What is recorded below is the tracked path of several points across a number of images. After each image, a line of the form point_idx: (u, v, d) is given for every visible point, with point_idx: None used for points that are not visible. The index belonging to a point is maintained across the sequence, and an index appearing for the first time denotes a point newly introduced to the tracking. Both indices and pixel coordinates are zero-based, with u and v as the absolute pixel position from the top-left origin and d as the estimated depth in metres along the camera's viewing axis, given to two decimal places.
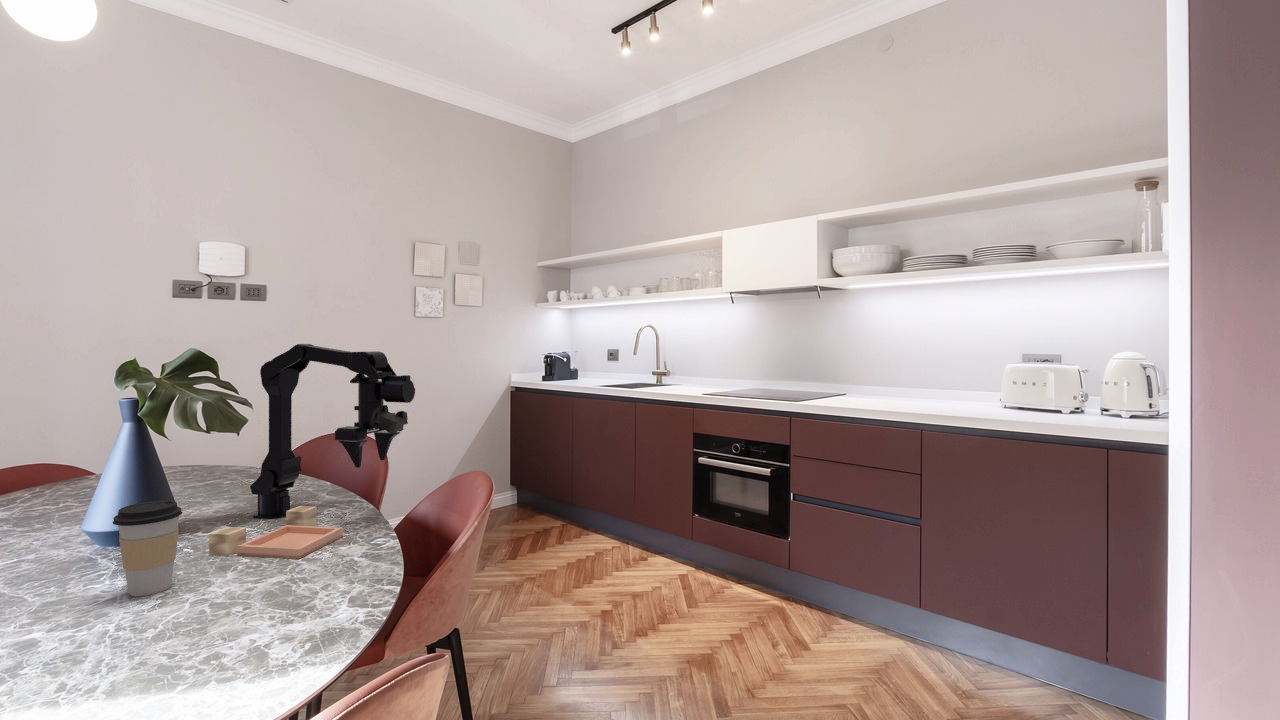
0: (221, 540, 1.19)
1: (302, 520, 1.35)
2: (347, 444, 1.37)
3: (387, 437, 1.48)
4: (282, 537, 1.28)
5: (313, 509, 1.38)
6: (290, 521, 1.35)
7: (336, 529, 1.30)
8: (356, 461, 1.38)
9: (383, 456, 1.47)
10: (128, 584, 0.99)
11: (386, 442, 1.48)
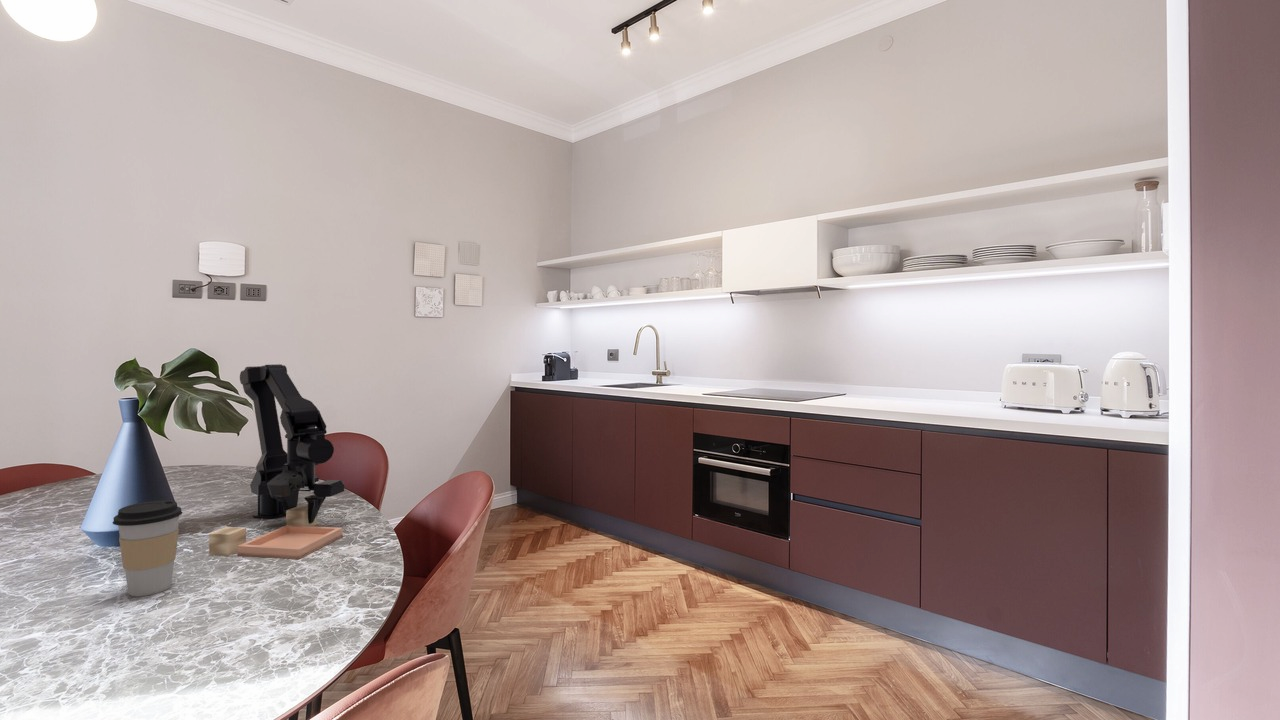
0: (221, 540, 1.19)
1: (302, 520, 1.35)
2: None
3: None
4: (282, 537, 1.28)
5: None
6: (290, 520, 1.35)
7: (336, 529, 1.30)
8: None
9: None
10: (128, 584, 0.99)
11: None
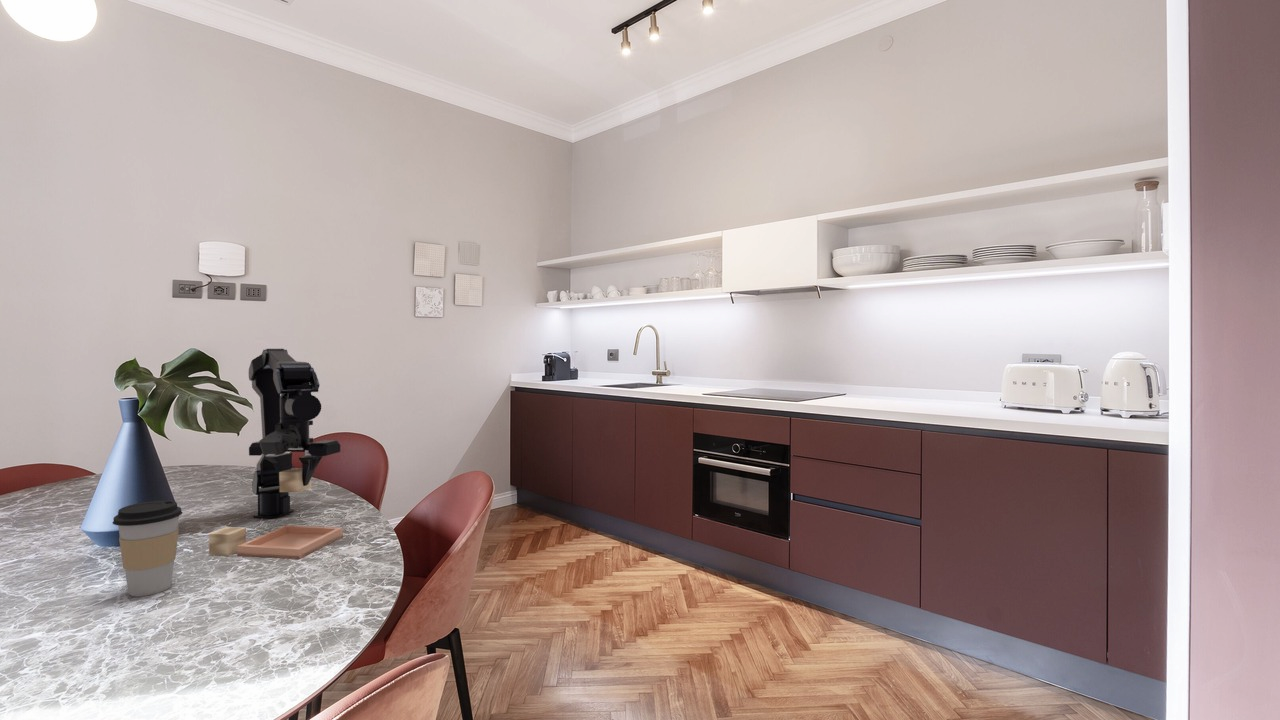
0: (221, 540, 1.19)
1: (296, 481, 1.29)
2: None
3: None
4: (282, 537, 1.28)
5: None
6: (283, 482, 1.29)
7: (336, 529, 1.30)
8: None
9: None
10: (128, 584, 0.99)
11: None
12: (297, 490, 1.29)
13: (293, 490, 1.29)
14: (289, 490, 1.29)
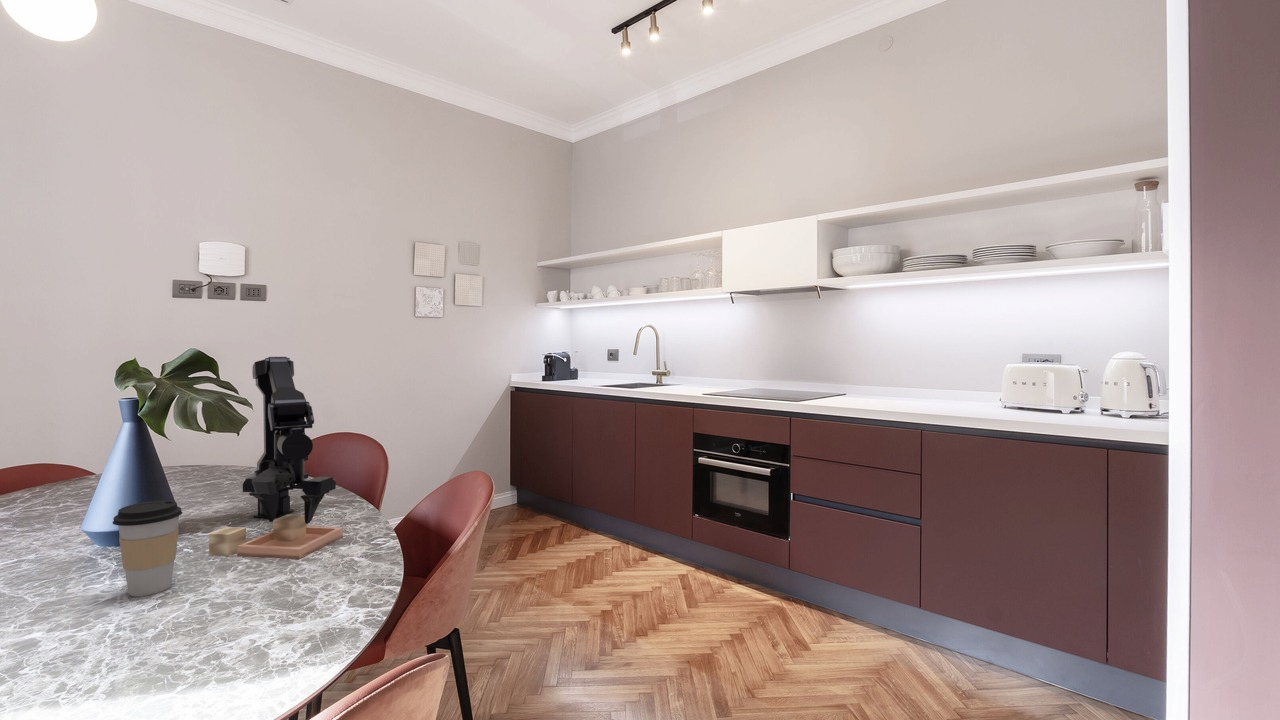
0: (221, 540, 1.19)
1: (290, 530, 1.26)
2: None
3: None
4: None
5: (302, 518, 1.29)
6: (277, 531, 1.26)
7: (336, 529, 1.30)
8: None
9: None
10: (128, 584, 0.99)
11: None
12: (291, 539, 1.26)
13: (287, 539, 1.26)
14: (283, 539, 1.26)
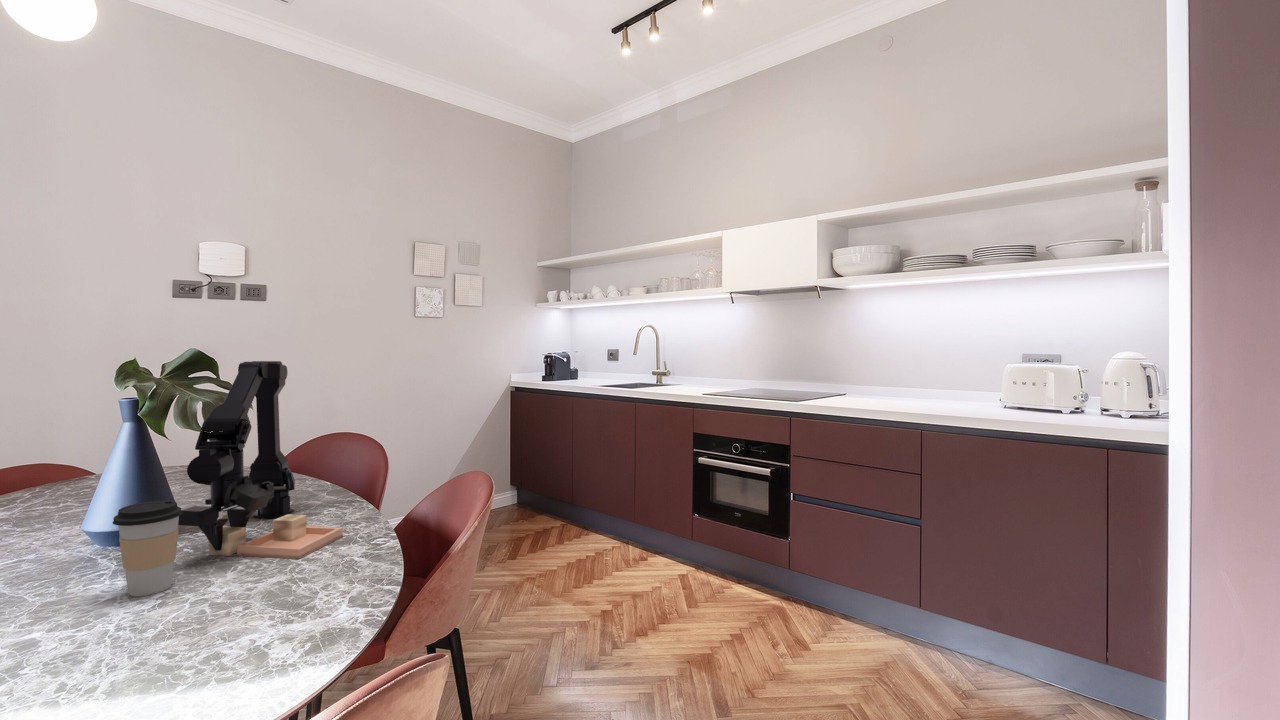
0: None
1: (290, 530, 1.26)
2: None
3: (243, 515, 1.24)
4: None
5: (302, 518, 1.29)
6: (277, 531, 1.26)
7: (336, 529, 1.30)
8: (215, 543, 1.18)
9: None
10: (128, 584, 0.99)
11: (241, 521, 1.24)
12: (291, 539, 1.26)
13: (287, 539, 1.26)
14: (283, 539, 1.26)
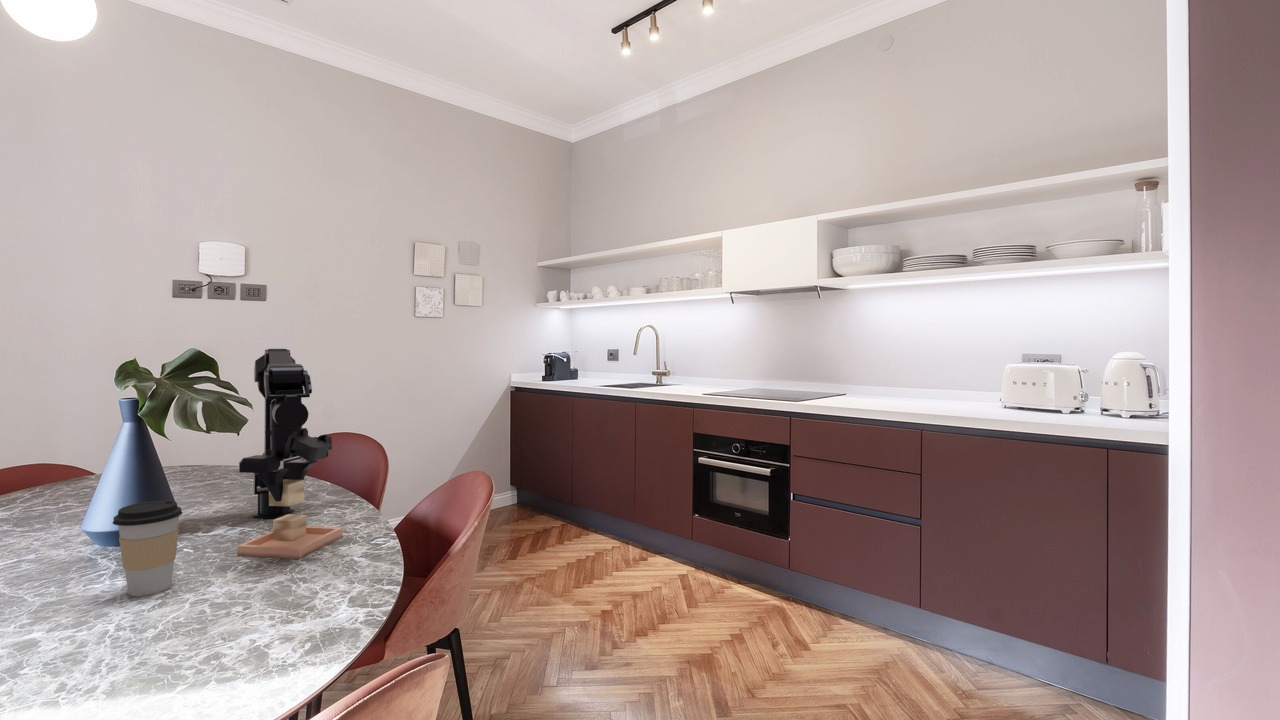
0: None
1: (290, 530, 1.26)
2: (264, 474, 1.17)
3: (301, 468, 1.23)
4: None
5: (302, 518, 1.29)
6: (277, 531, 1.26)
7: (336, 529, 1.30)
8: (276, 494, 1.18)
9: None
10: (128, 584, 0.99)
11: (300, 474, 1.23)
12: (291, 539, 1.26)
13: (287, 539, 1.26)
14: (283, 539, 1.26)
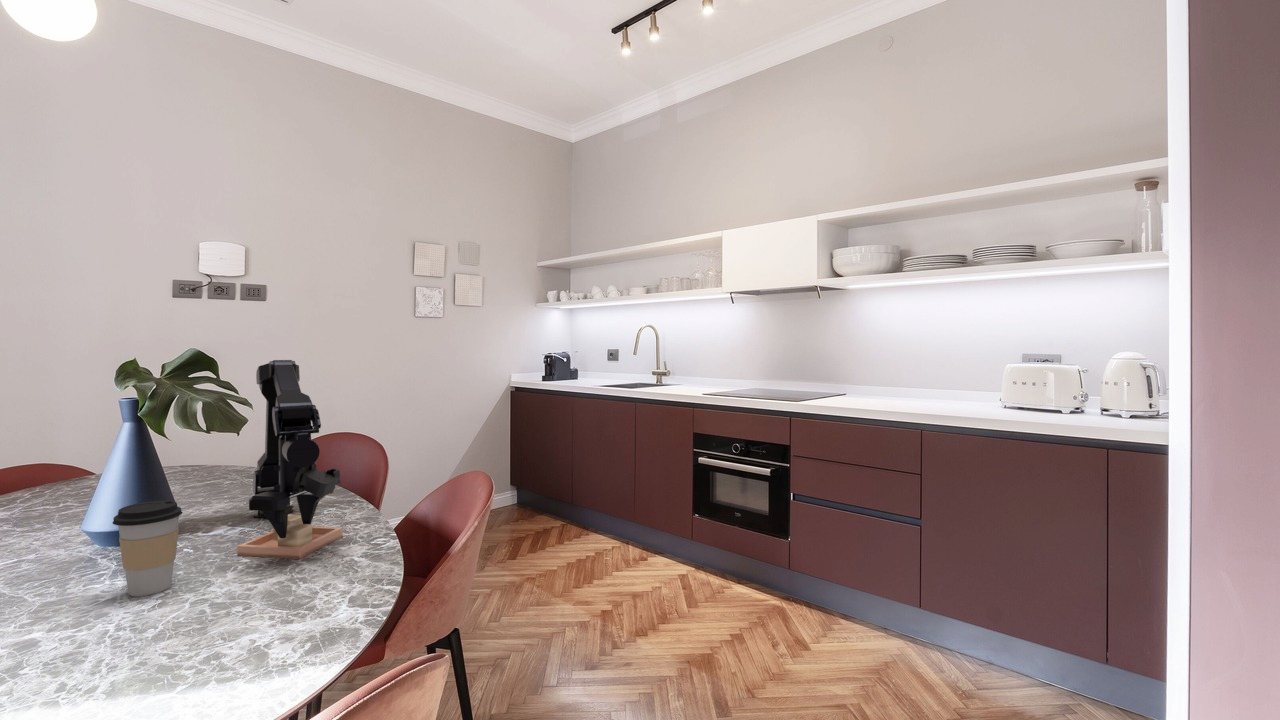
0: (291, 537, 1.19)
1: None
2: (269, 512, 1.16)
3: (312, 500, 1.25)
4: None
5: None
6: None
7: (336, 529, 1.30)
8: (280, 531, 1.17)
9: (308, 522, 1.25)
10: (128, 584, 0.99)
11: (311, 506, 1.25)
12: None
13: None
14: None
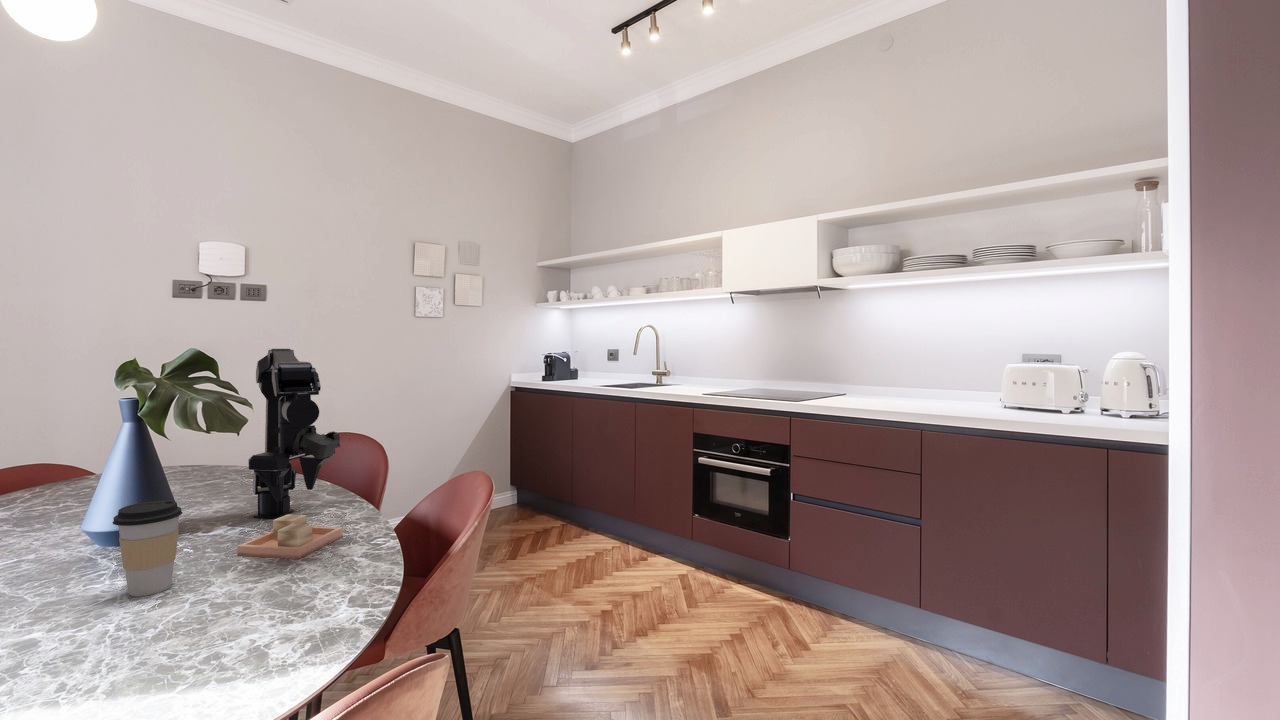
0: (291, 537, 1.19)
1: None
2: (265, 474, 1.15)
3: (315, 462, 1.26)
4: None
5: (302, 518, 1.29)
6: (277, 531, 1.26)
7: (336, 529, 1.30)
8: (276, 493, 1.16)
9: (311, 485, 1.26)
10: (128, 584, 0.99)
11: (314, 468, 1.26)
12: None
13: None
14: None
